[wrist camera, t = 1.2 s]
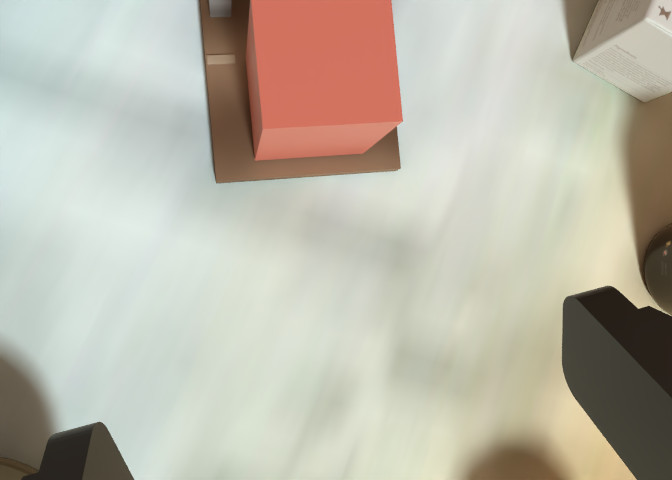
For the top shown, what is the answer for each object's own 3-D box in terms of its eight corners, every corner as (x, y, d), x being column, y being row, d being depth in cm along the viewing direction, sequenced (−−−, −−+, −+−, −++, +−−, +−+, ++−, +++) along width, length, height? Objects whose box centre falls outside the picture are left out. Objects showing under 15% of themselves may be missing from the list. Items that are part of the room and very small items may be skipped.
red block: (362, 153, 36) (402, 121, 28) (255, 160, 35) (263, 129, 27) (353, 53, 36) (390, -8, 28) (245, 57, 35) (250, -6, 27)
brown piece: (396, 170, 38) (426, 153, 32) (216, 183, 36) (213, 167, 30) (369, -115, 38) (394, -183, 32) (189, -117, 36) (182, -191, 30)
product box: (643, 106, 41) (731, 73, 34) (568, 62, 40) (642, 18, 33) (677, 28, 42) (771, -21, 35) (604, -17, 41) (685, -77, 34)
